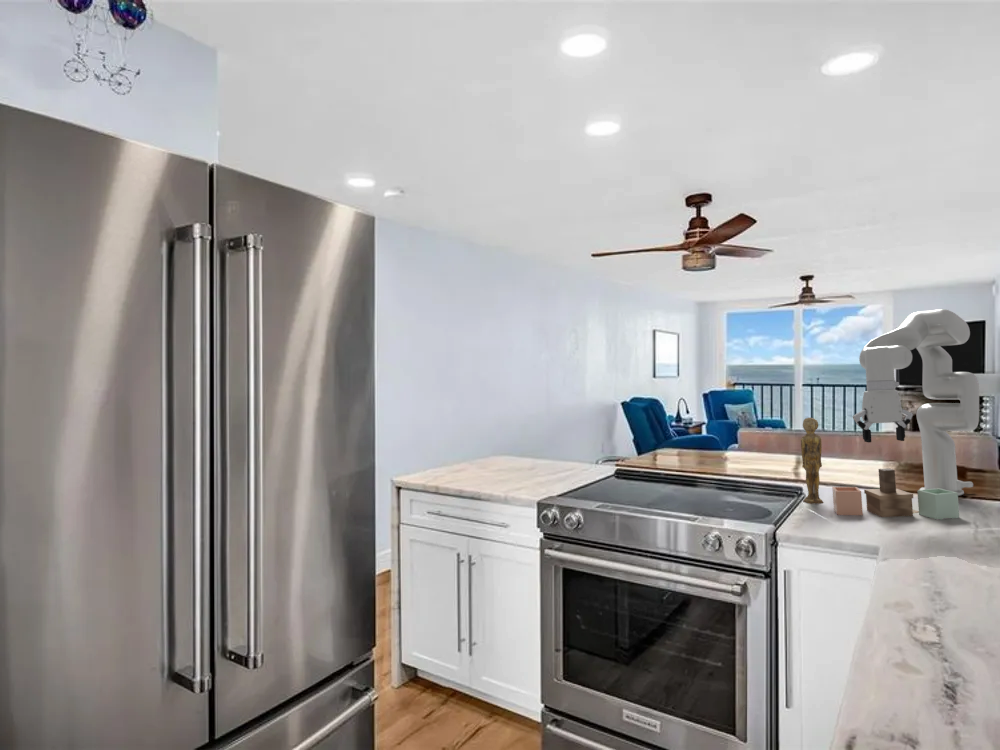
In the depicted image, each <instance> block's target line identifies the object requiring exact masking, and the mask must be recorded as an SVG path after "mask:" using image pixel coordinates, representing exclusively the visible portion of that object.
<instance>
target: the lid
mask: <svg viewBox="0 0 1000 750" xmlns="http://www.w3.org/2000/svg"><path fill="white" fill-rule="evenodd" d="M878 482H879V483H878V484H879V488H871V489H864V490H863V491H864V492H863V493H864V494H865V495H866V494H867V495H870V496H872V497H875V498H877V499H880V500H882V499H905V498H912V499H914V494H913V493H911V492H908V491H906V490H905V491H904V490H903V489H902V490H901V489H899V488H897V483H896V470H895V469H893V468H878Z"/></svg>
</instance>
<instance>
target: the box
mask: <svg viewBox="0 0 1000 750" xmlns="http://www.w3.org/2000/svg"><path fill="white" fill-rule="evenodd" d="M865 502H866V511H867V512H869V513H872V514H873V515H877V516H878V517H881V518H890V517H891V518H893V517H896V518H897V517H914V513H913V510H914V509H913V498H905V499H882V500H880V499H877V498H875V497H872V496H870V495H867V494H865Z"/></svg>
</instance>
